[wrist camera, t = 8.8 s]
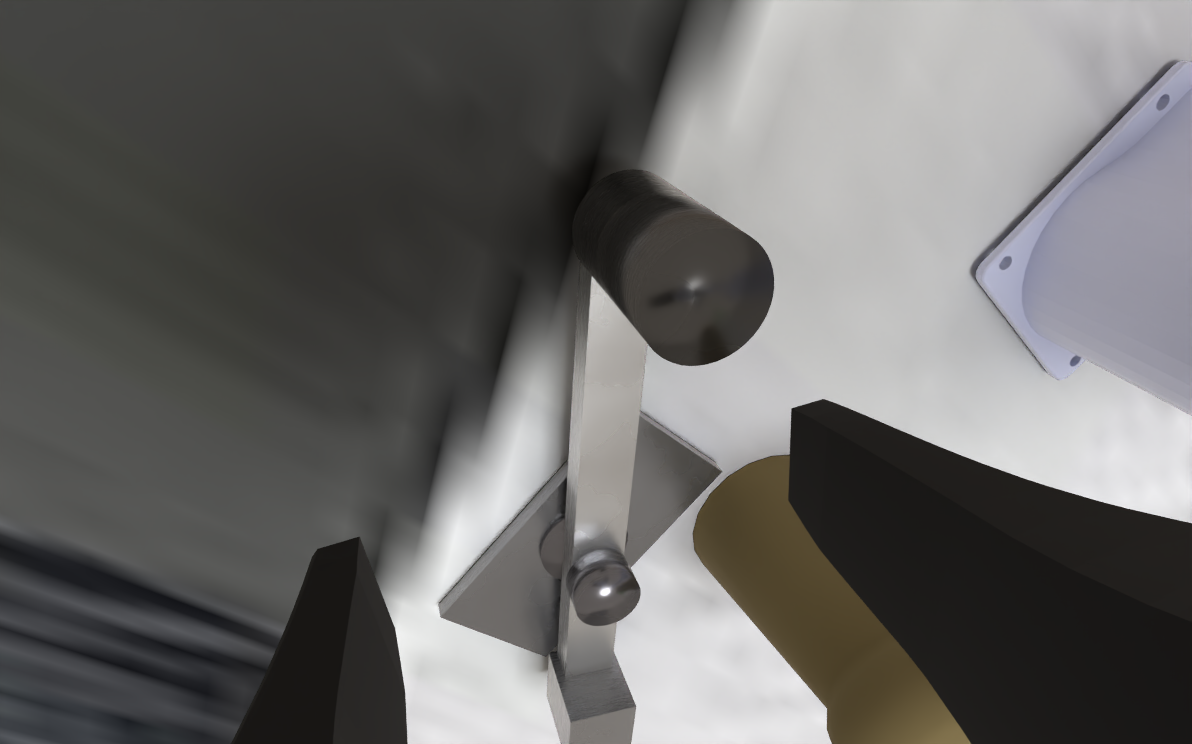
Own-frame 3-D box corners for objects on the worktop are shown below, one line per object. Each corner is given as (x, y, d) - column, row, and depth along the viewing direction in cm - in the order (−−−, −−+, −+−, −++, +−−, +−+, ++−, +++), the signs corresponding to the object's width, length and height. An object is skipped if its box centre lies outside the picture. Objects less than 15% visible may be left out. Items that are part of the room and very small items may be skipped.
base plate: (622, 399, 24) (630, 411, 23) (714, 461, 27) (724, 474, 26) (438, 604, 26) (441, 621, 25) (542, 644, 28) (547, 660, 28)
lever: (611, 680, 29) (669, 828, 24) (539, 697, 28) (583, 853, 23) (669, 158, 19) (786, 225, 14) (561, 158, 19) (646, 230, 14)
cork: (663, 552, 28) (822, 837, 19) (759, 432, 27) (982, 678, 17) (764, 590, 31) (944, 851, 22) (856, 484, 30) (1089, 717, 21)
